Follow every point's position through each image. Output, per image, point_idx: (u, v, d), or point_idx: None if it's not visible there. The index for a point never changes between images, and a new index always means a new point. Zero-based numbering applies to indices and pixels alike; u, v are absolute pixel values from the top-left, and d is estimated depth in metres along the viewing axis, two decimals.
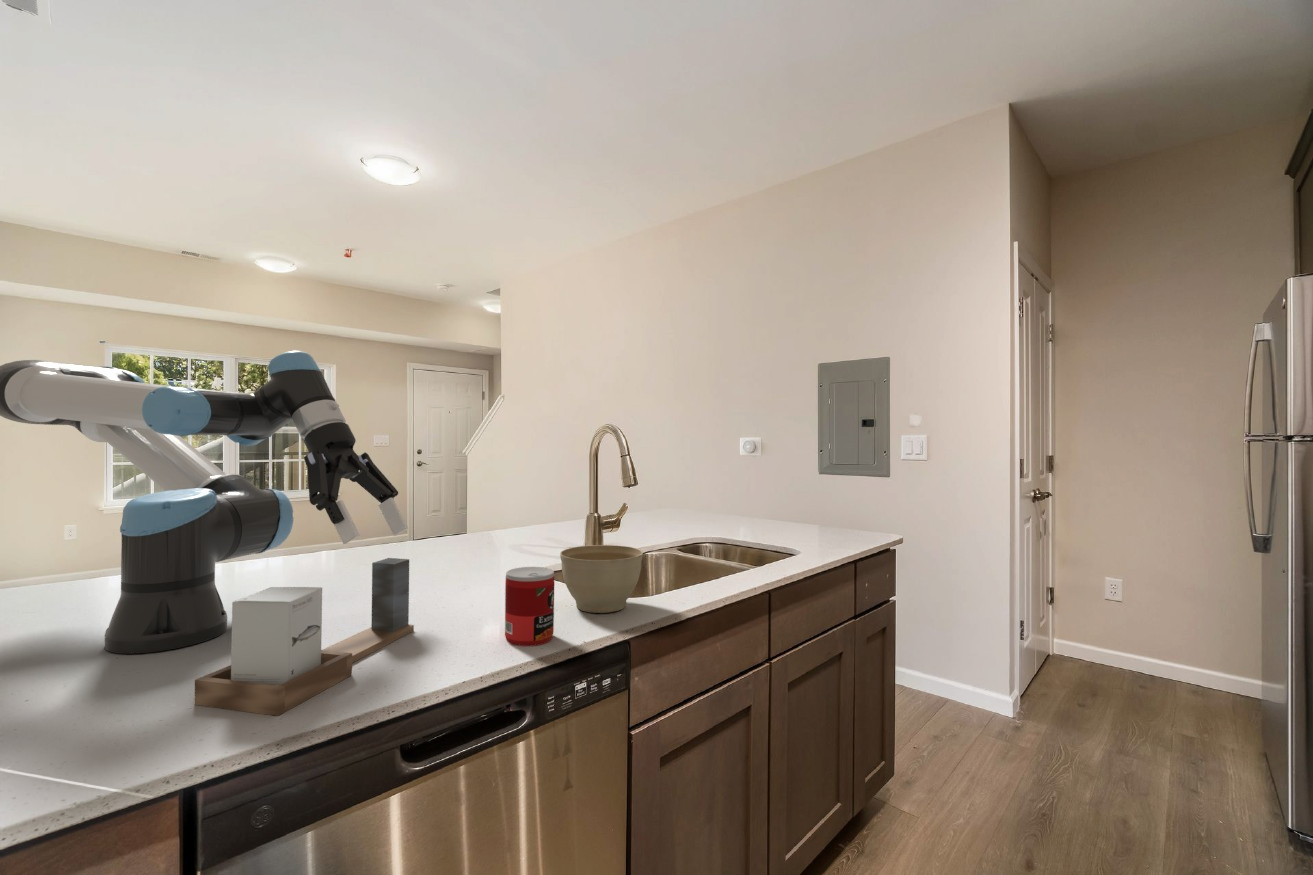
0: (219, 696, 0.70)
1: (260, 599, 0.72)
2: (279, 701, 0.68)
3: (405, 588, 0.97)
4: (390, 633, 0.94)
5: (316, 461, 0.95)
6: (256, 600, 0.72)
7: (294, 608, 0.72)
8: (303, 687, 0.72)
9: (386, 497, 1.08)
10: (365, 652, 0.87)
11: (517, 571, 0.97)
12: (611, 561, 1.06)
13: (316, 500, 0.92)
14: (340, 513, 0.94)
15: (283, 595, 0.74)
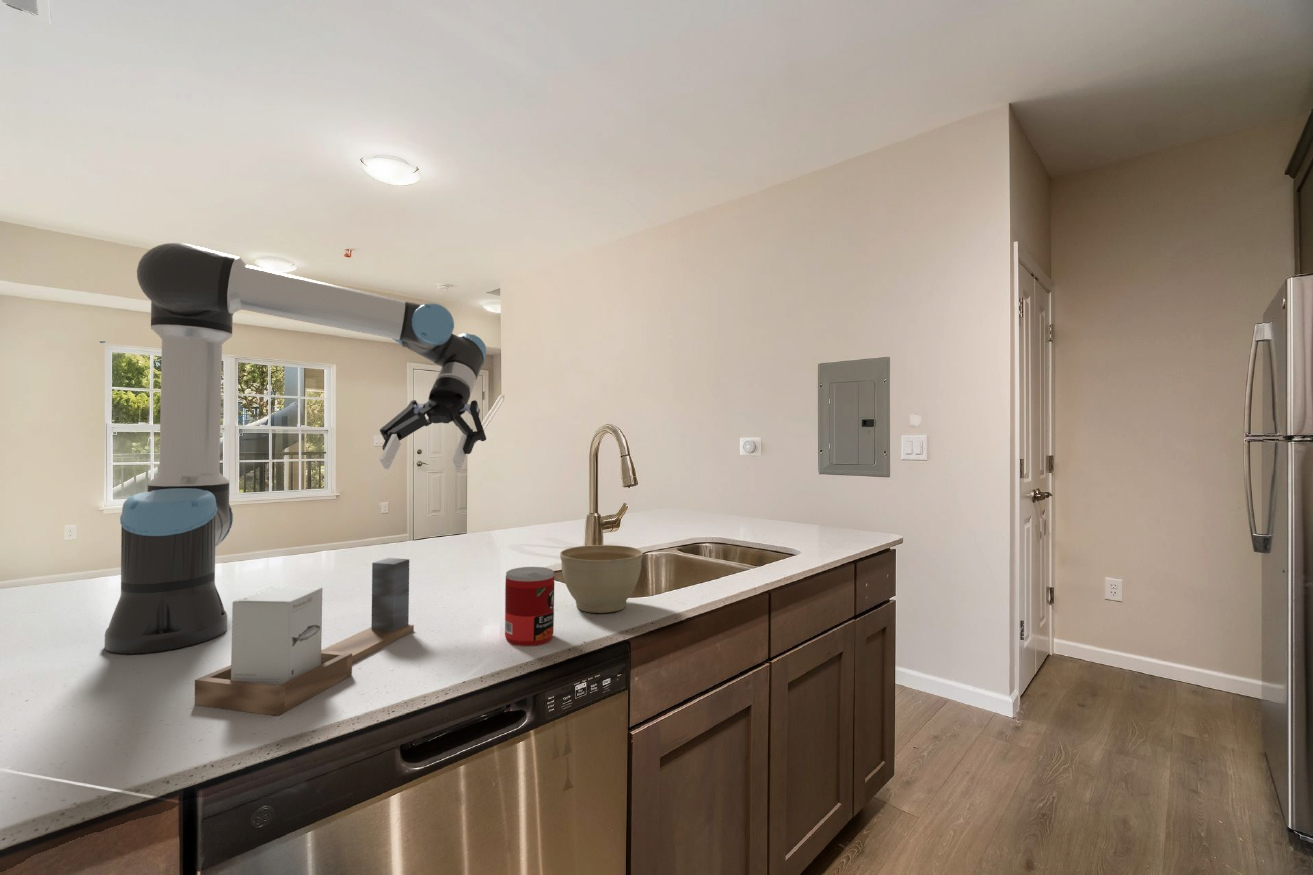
0: (219, 696, 0.70)
1: (260, 599, 0.72)
2: (279, 701, 0.68)
3: (405, 588, 0.97)
4: (390, 633, 0.94)
5: (478, 414, 1.17)
6: (256, 600, 0.72)
7: (294, 608, 0.72)
8: (303, 687, 0.72)
9: None
10: (365, 652, 0.87)
11: (517, 571, 0.97)
12: (611, 561, 1.06)
13: (483, 435, 1.12)
14: None
15: (283, 595, 0.74)
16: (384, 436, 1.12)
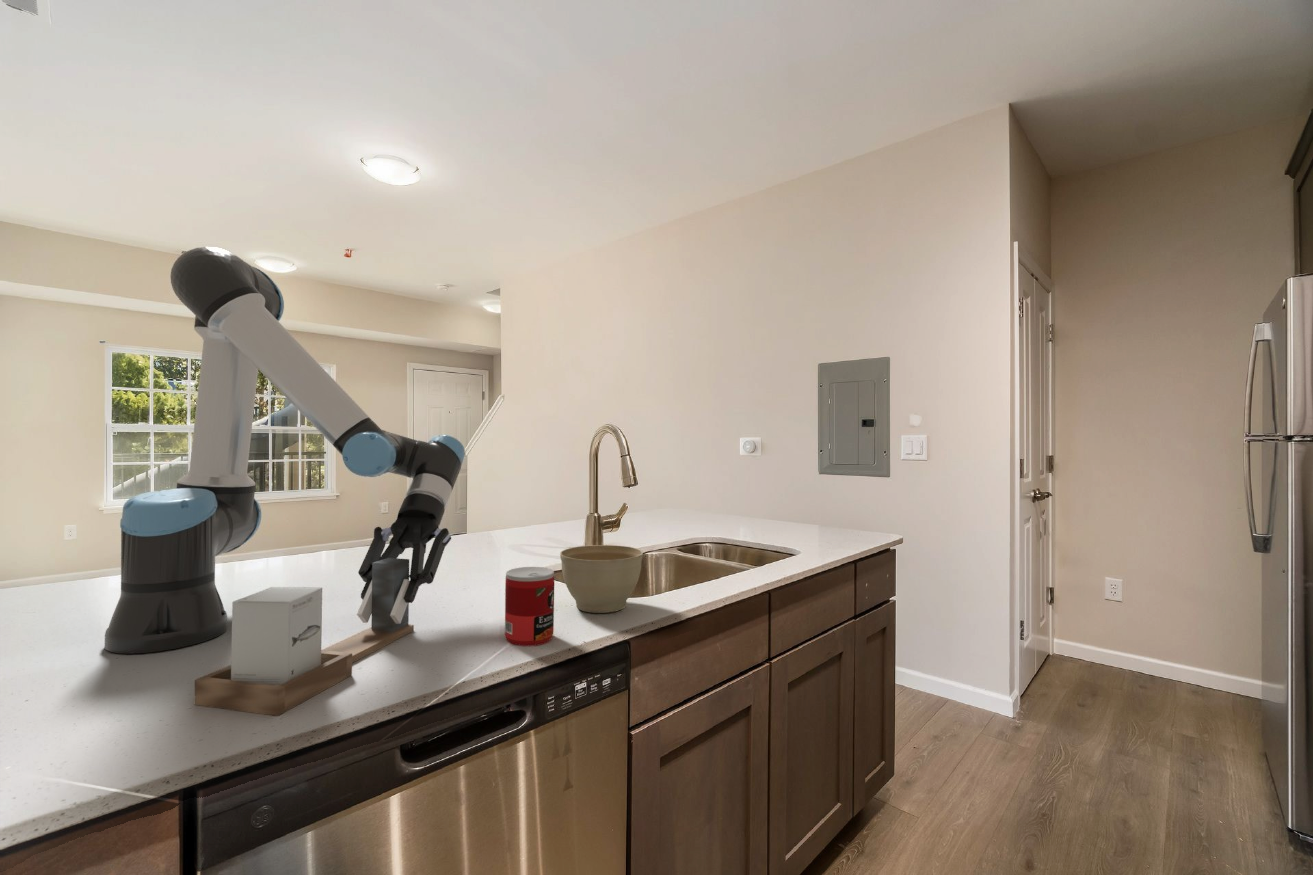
0: (219, 696, 0.70)
1: (260, 599, 0.72)
2: (279, 701, 0.68)
3: None
4: (390, 633, 0.94)
5: (444, 545, 1.03)
6: (256, 600, 0.72)
7: (294, 608, 0.72)
8: (303, 687, 0.72)
9: None
10: (365, 652, 0.87)
11: (517, 571, 0.97)
12: (611, 561, 1.06)
13: (429, 578, 0.98)
14: None
15: (283, 595, 0.74)
16: (363, 578, 0.98)
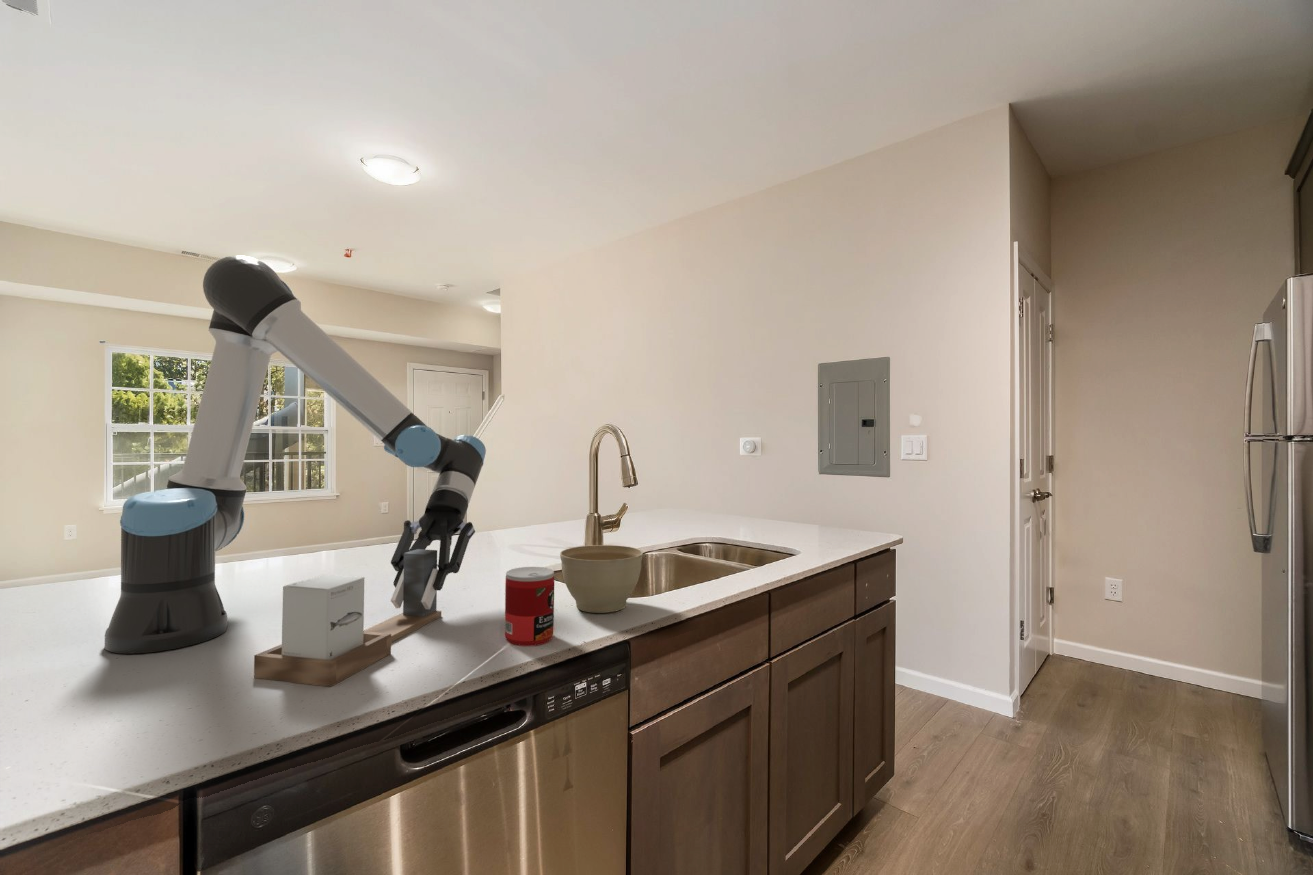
0: (277, 670, 0.78)
1: (305, 585, 0.79)
2: (332, 674, 0.76)
3: None
4: (421, 618, 1.02)
5: (468, 537, 1.11)
6: (302, 586, 0.79)
7: (333, 595, 0.78)
8: (351, 662, 0.80)
9: None
10: (400, 634, 0.95)
11: (517, 571, 0.97)
12: (611, 561, 1.06)
13: (456, 567, 1.06)
14: None
15: (326, 582, 0.80)
16: (395, 568, 1.06)
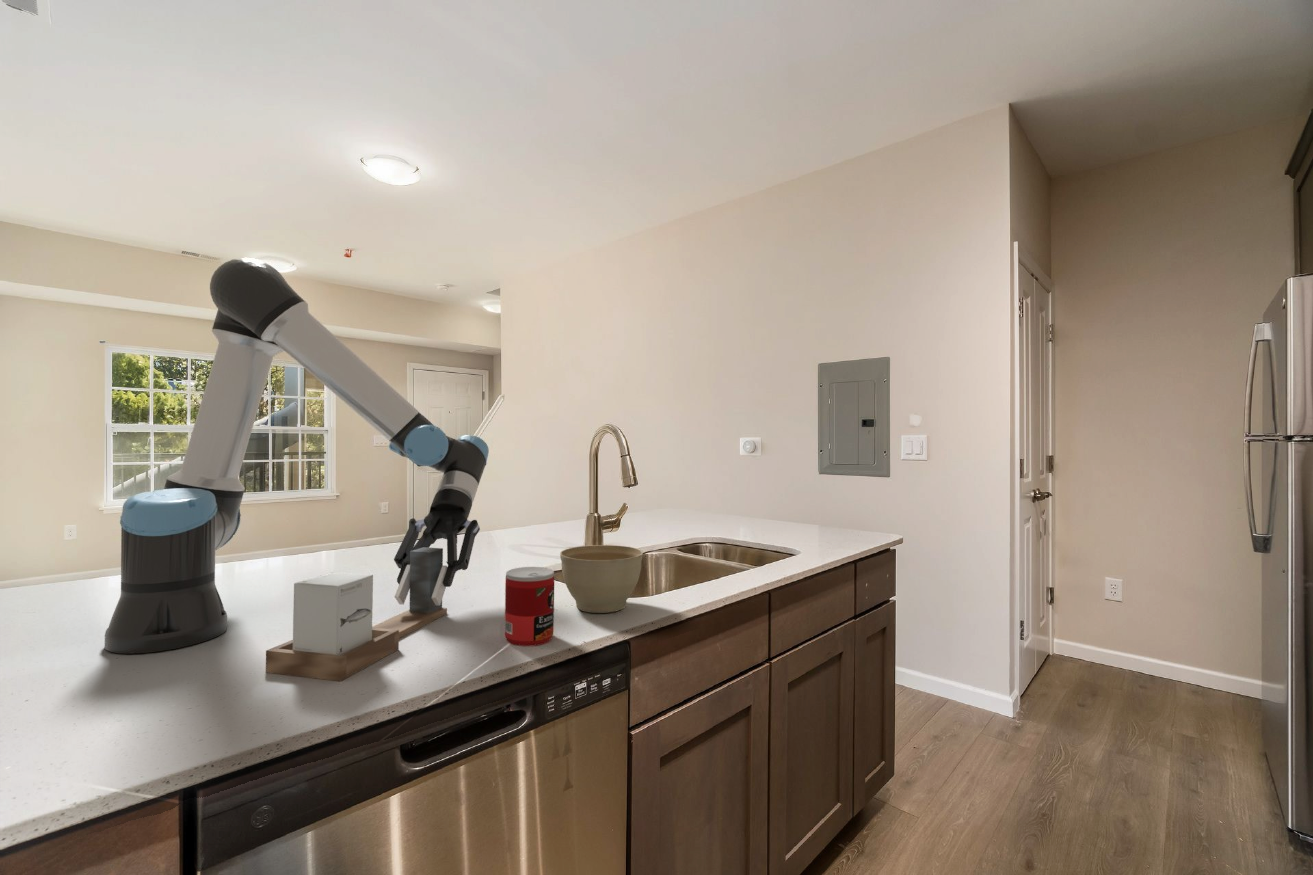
0: (288, 664, 0.79)
1: (316, 582, 0.81)
2: (342, 668, 0.78)
3: None
4: (427, 614, 1.03)
5: (474, 535, 1.13)
6: (312, 583, 0.80)
7: (343, 592, 0.80)
8: (360, 657, 0.81)
9: None
10: (407, 630, 0.96)
11: (517, 571, 0.97)
12: (611, 561, 1.06)
13: (464, 564, 1.08)
14: None
15: (336, 580, 0.82)
16: (398, 565, 1.08)
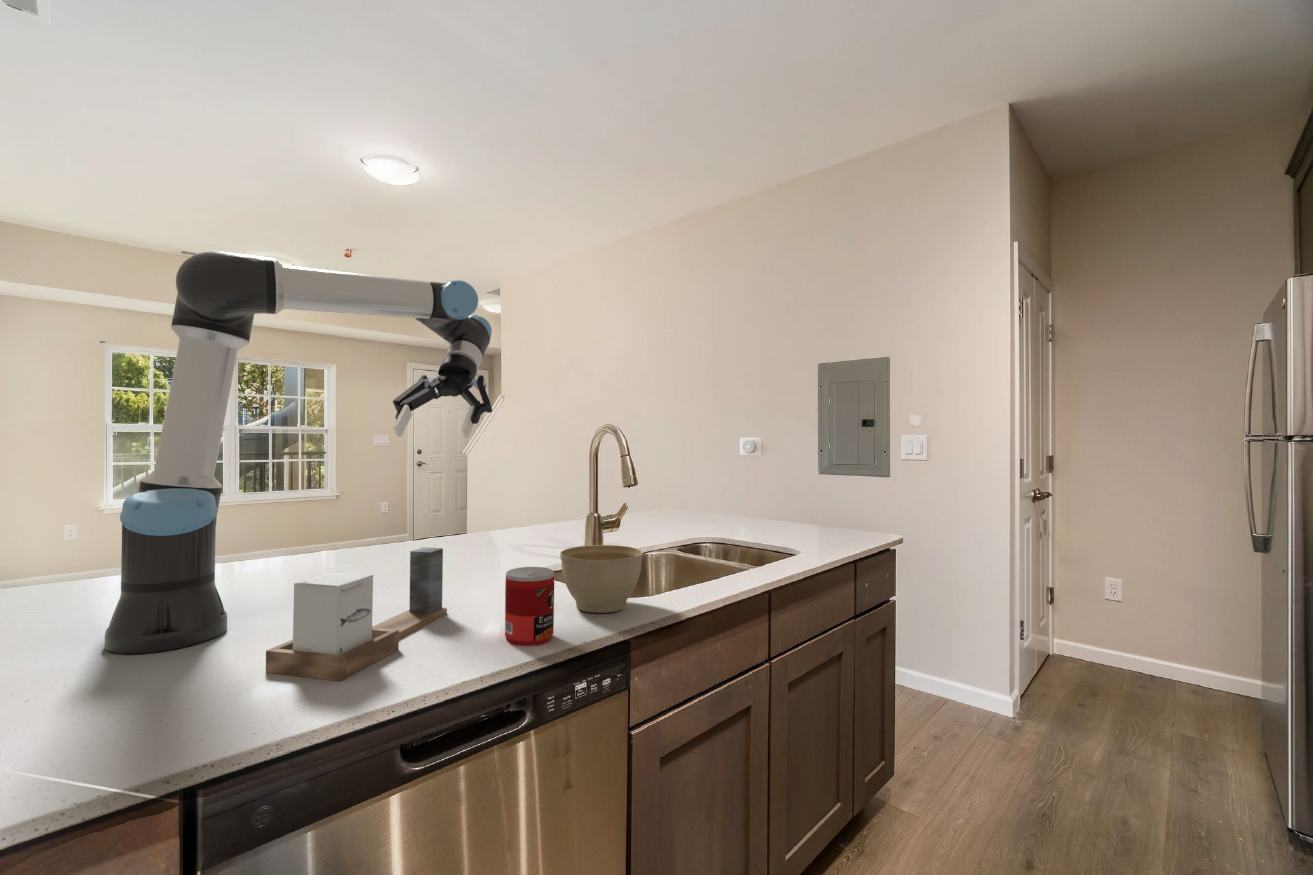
0: (288, 664, 0.79)
1: (316, 582, 0.81)
2: (342, 668, 0.78)
3: (439, 574, 1.07)
4: (427, 614, 1.03)
5: (484, 388, 1.25)
6: (312, 583, 0.80)
7: (343, 592, 0.80)
8: (360, 657, 0.81)
9: None
10: (407, 630, 0.96)
11: (517, 571, 0.97)
12: (611, 561, 1.06)
13: (490, 406, 1.20)
14: None
15: (336, 580, 0.82)
16: (397, 407, 1.20)
